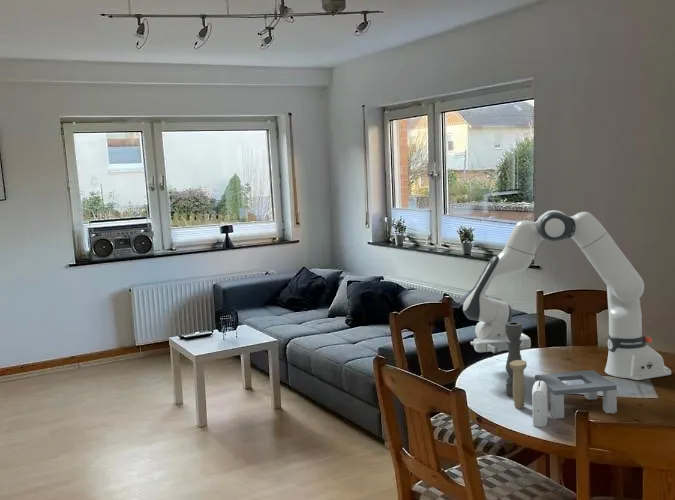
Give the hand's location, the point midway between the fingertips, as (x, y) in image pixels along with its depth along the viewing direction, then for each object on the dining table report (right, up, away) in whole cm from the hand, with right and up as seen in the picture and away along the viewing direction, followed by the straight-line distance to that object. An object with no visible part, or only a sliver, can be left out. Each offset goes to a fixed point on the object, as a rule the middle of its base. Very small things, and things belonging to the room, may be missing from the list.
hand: (508, 349), depth 235 cm
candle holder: (+1, -15, -4) cm, 16 cm away
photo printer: (+3, -18, -29) cm, 34 cm away
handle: (-1, -17, -16) cm, 23 cm away
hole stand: (+17, -16, -19) cm, 30 cm away
